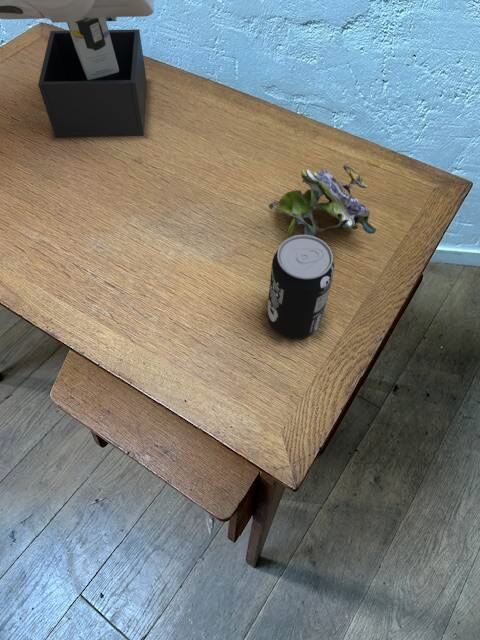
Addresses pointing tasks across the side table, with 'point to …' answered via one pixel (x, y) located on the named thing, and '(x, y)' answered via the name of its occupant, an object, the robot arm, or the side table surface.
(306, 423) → the side table surface
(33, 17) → the robot arm
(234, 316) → the side table surface
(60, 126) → the open storage bin
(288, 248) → the beverage can
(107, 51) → the ink box
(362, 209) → the passion flower
